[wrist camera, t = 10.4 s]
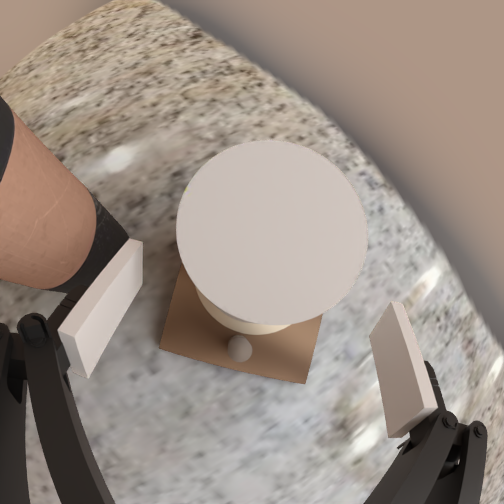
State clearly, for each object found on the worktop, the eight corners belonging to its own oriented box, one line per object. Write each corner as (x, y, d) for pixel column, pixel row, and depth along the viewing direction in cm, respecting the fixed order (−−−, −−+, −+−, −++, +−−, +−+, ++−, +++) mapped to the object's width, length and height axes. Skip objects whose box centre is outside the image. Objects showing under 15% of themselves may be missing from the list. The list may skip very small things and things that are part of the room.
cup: (274, 206, 25) (307, 119, 14) (322, 292, 24) (398, 265, 12) (185, 249, 24) (147, 184, 12) (231, 341, 23) (232, 362, 11)
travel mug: (58, 232, 25) (-94, 128, 5) (126, 205, 26) (4, 41, 6) (72, 309, 24) (-119, 274, 4) (146, 285, 25) (-33, 194, 5)
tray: (301, 381, 24) (319, 395, 19) (162, 347, 24) (145, 353, 18) (338, 206, 27) (360, 183, 22) (213, 172, 27) (210, 142, 22)
